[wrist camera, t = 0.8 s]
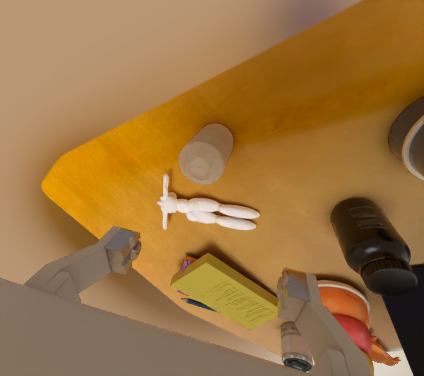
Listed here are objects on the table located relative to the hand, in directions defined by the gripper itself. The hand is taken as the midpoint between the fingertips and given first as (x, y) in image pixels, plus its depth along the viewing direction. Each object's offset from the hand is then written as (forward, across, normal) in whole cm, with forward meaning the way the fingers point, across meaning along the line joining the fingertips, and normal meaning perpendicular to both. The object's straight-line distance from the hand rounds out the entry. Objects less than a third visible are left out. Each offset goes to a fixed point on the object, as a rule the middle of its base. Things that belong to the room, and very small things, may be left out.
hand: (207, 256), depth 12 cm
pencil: (+23, -5, +45) cm, 51 cm away
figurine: (+23, -34, +48) cm, 63 cm away
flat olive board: (+19, +6, +27) cm, 34 cm away
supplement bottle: (+23, -19, +10) cm, 31 cm away
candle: (+23, +4, +1) cm, 23 cm away
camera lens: (+23, -20, +45) cm, 54 cm away
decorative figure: (+23, +4, +14) cm, 27 cm away
